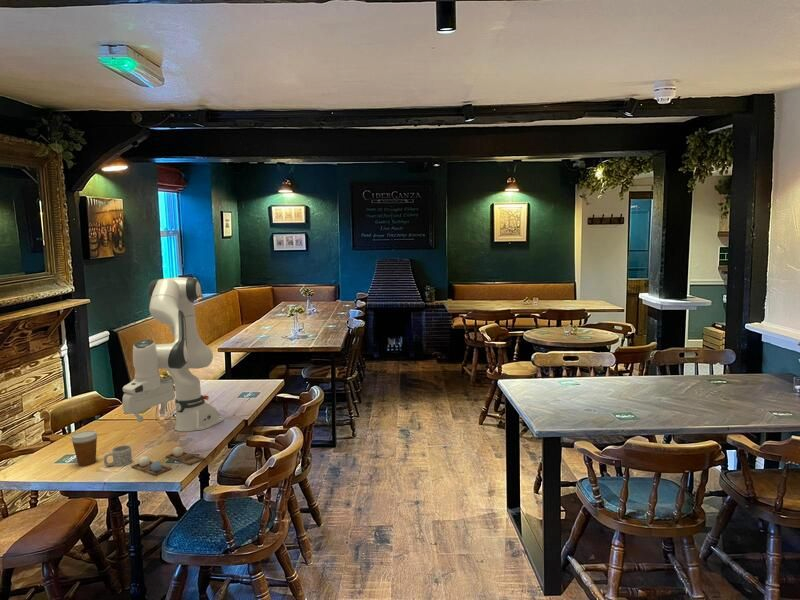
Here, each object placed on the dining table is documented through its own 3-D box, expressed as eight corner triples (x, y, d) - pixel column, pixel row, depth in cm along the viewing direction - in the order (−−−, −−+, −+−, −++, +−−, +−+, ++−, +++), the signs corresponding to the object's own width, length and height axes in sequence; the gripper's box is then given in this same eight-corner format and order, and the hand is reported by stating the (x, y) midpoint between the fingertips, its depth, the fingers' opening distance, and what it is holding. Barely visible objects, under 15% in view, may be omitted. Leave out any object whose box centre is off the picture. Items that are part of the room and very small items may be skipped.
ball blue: (159, 465, 228) (155, 458, 226) (165, 467, 226) (161, 460, 224) (151, 473, 225) (146, 465, 224) (157, 475, 223) (153, 467, 221)
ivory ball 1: (146, 463, 233) (145, 453, 233) (152, 465, 231) (151, 455, 231) (137, 467, 230) (136, 457, 230) (143, 469, 228) (142, 459, 227)
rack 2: (165, 459, 239) (165, 456, 239) (180, 453, 245) (180, 450, 244) (190, 467, 230) (190, 463, 230) (205, 460, 236) (205, 457, 235)
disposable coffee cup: (70, 463, 238) (67, 434, 236) (95, 456, 244) (92, 428, 243) (77, 469, 231) (74, 440, 230) (103, 462, 238) (100, 433, 236)
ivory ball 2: (179, 453, 242) (178, 444, 242) (185, 455, 240) (185, 446, 240) (171, 457, 239) (170, 447, 239) (177, 459, 237) (176, 449, 236)
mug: (130, 459, 240) (128, 444, 239) (134, 464, 234) (132, 448, 233) (103, 466, 234) (101, 450, 233) (106, 471, 228) (104, 455, 228)
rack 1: (131, 469, 230) (131, 465, 230) (147, 462, 236) (147, 459, 235) (155, 477, 221) (155, 474, 221) (172, 471, 227) (172, 467, 226)
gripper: (166, 374, 236) (170, 408, 238) (118, 388, 219) (122, 424, 221) (176, 376, 232) (180, 410, 234) (128, 391, 216) (132, 427, 218)
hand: (151, 417), depth 228 cm, fingers open, 8 cm apart
